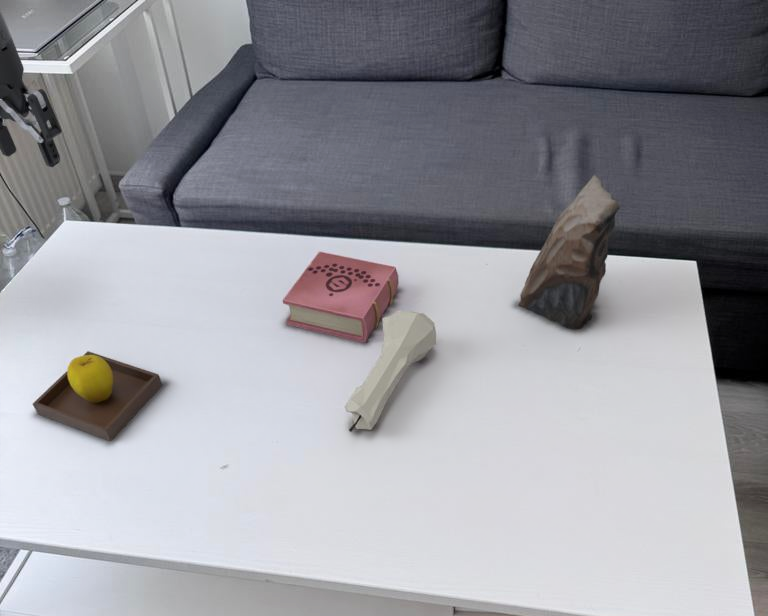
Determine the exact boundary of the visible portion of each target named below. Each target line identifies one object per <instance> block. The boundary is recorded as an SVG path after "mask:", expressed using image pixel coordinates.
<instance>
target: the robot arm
mask: <svg viewBox="0 0 768 616" xmlns="http://www.w3.org/2000/svg"><path fill="white" fill-rule="evenodd" d="M24 68H25V67H24V65H23V63H22V60H21V57H20V55H19V52H18V49H17V47H16V45H15V42H14V39H13V37H12V34H11V32H10V30H9V27H8V24H7V22H6V18H5V16H4V15H3V12H2V11H1V9H0V152H1V154H2V155H3V156H4V157H11V156H12V155H14V154H16V152H17V147H16V145H15V142H14V140H13V138H12V135H11V133H10V131H9V129H8V126H7V125H5V122H6V120H10V121H12V122H15V123H17V124H18V125H19V126H20V127H21V129H22V130H25V131H28V133H30V135H32V136H33V138H34V139H35V140H36V141H37V143H36V144H37V146H38V149H39V151H40V153H41V156H42V159H43V160H44V163H45V165H46V167H48V168H54V167H55V166H56V165H58V164H60V161H61V155H60V153H59V150H58V148H57V145H56V143H55V140H54V138H56V137H57V136H59V135H60V134H62V132H63V131H62V128H61V126H60V122H59V121H58V118H57V116H56V114H55V113H56V112H55V111H54V108H53V107H52V105H51V101H50V99H49V97H48V95H47V93H46V91H45V90H44V89H43V88H39V89H38V90H35V91H33V90H29V89H28V87H27V86H26V85H25V83H24V80H23V75H24V71H25V69H24ZM29 113H31V115H32V116H30V117H29V118H27V117H28V116H29ZM48 122H49V124H50V125H49V124H48ZM35 125H38V127H39V129H40V131H39V129H38V128H37V127H36V126H35Z"/></svg>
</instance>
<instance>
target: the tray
mask: <svg viewBox="0 0 768 616" xmlns="http://www.w3.org/2000/svg"><path fill="white" fill-rule="evenodd" d="M85 355H96V356H99V357H101V358H102V359H104V360H105V361H106V362H107V363H108V365H109V366H110V368H111V370H112V374H113V386H112V393H111V395H110V397H109V398H108V399H107V400H104V401H102V402H99V403H92V402H89V401H87V400H85V399H84V398H82V397H81V396H80V395H78V394H77V393H76V392H75V391H74V389H73V388H72V387H71V385H70V383H69V380H68V376H67V370H66V371H65V372H64V373H63V374H62V375H61V376H60V377H59V378H58V379H57V380H56V381H55V382H53V383H52V384H51V385H50V386H49V387H48V388H47V389H46V390H44V392H43V393H42V394H41V395H40V396H39V397H38V398H37V399H36V400H35V401H34V402H33V403H32V406H33V408H34V409H35V411H36V414H38V415H39V416H42V417H44V418H47V419H50V420H53V421H55V422H58V423H61V424H62V425H66V426H68V427H71V428H74V429H77V430H79V431H82V432H84V433H88V434H90V435H93V436H95V437H98V438H101V439H103V440H106V441H109V442H112V440H113V439H114V438H115V437H116V436H117V435H118V434H119V433H120V432H121V431H122V430H123V429H124V427H126V425H128V423H130V421H131V420H132V419H133V418H134V417H135V416H136V415H137V414H138V412H139V411H140V410H141V409H142V408H144V406H145V405H146V404H147V403H148V402H149V401H150V399H152V397H153V396H155V394H156V393H157V392H158V391H159V390H160V389H161V388H162V387H163V382H162V379H161V376H160V375H159V373H156V372H153V371H149V370H147V369H144V368H140V367H137V366H134V365H131V364H128V363H125V362H122V361H118V360H116V359H113V358H110V357H107V356H104V355H101V354H98V353H95V352H93V351H92V352H91V351H88V350H87V351H86V352H85V353H84V354H83V355H82V356H85Z"/></svg>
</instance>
